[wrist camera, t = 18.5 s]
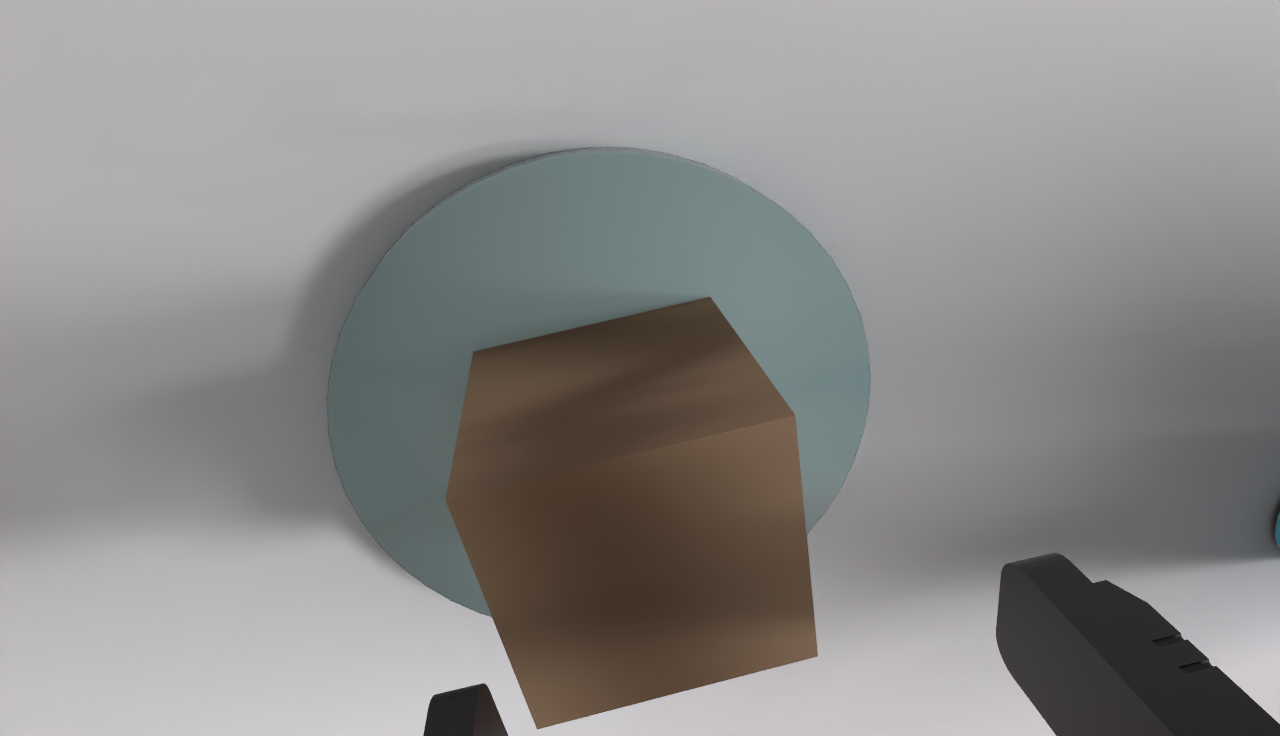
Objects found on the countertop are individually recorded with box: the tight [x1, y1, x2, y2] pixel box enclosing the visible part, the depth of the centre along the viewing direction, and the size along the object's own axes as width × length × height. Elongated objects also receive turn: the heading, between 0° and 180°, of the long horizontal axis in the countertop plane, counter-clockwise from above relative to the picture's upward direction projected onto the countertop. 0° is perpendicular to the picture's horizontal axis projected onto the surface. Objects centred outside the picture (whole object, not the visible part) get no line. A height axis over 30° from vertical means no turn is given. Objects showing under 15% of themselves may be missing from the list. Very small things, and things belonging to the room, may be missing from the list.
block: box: [445, 297, 818, 729], centre depth 13 cm, size 5×5×5 cm
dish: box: [327, 148, 870, 617], centre depth 15 cm, size 12×12×1 cm
